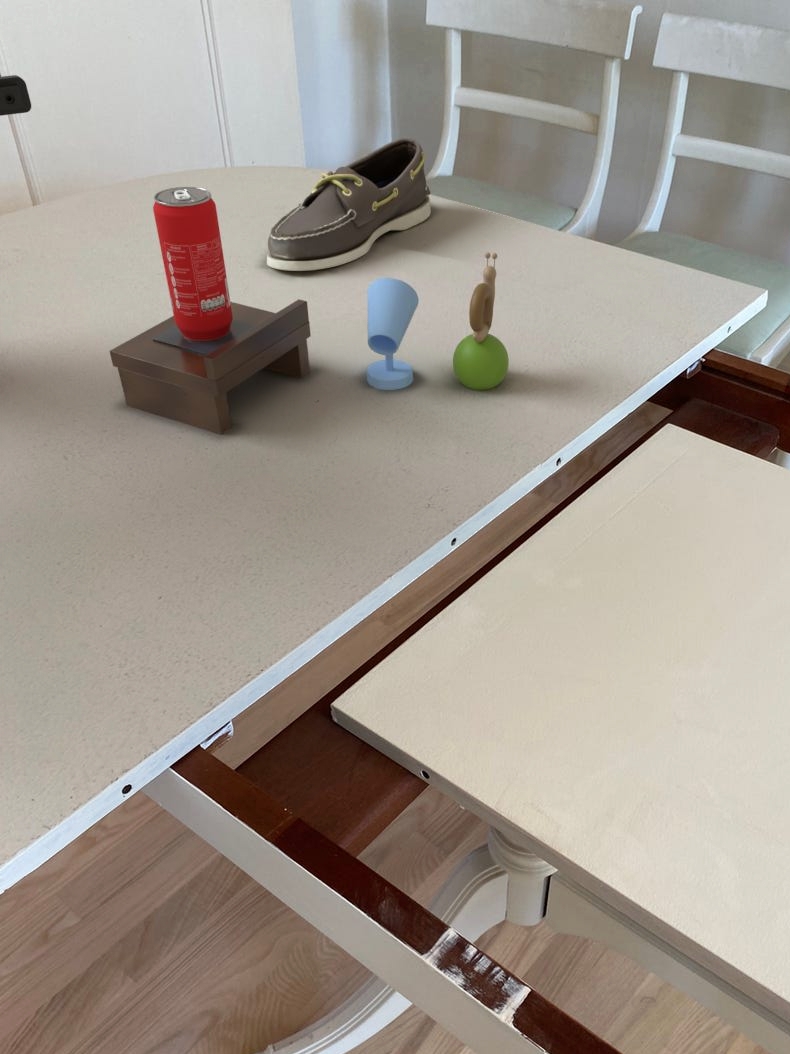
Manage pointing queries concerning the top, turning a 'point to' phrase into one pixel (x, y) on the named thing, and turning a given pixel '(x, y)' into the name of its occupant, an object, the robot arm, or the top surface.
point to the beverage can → (193, 262)
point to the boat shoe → (353, 209)
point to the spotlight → (389, 331)
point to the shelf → (210, 363)
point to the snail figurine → (481, 340)
